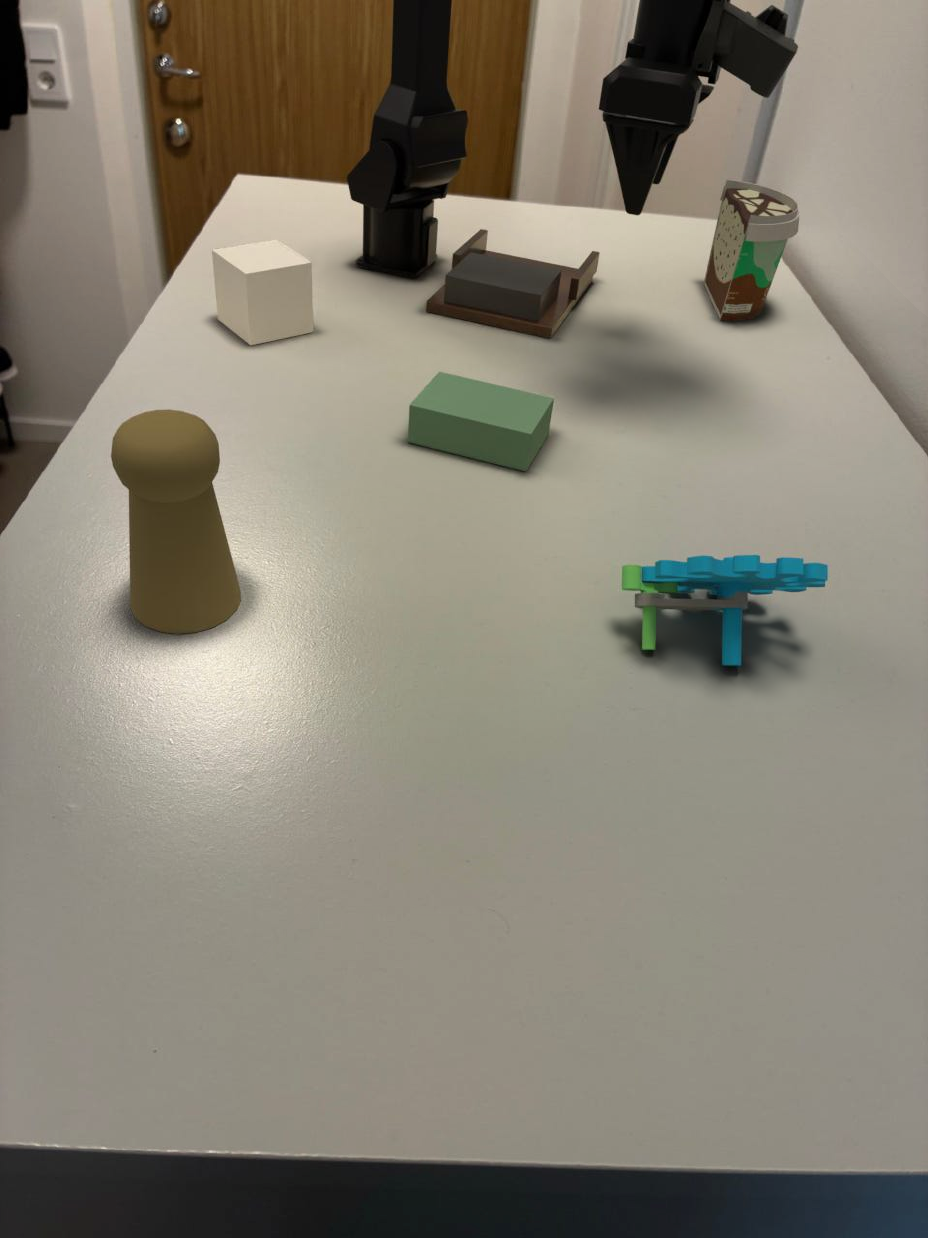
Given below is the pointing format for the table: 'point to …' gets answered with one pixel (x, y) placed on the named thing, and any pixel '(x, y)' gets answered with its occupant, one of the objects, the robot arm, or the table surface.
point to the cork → (175, 523)
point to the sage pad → (480, 420)
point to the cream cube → (263, 291)
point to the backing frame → (510, 289)
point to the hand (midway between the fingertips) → (643, 197)
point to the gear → (716, 590)
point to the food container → (748, 247)
